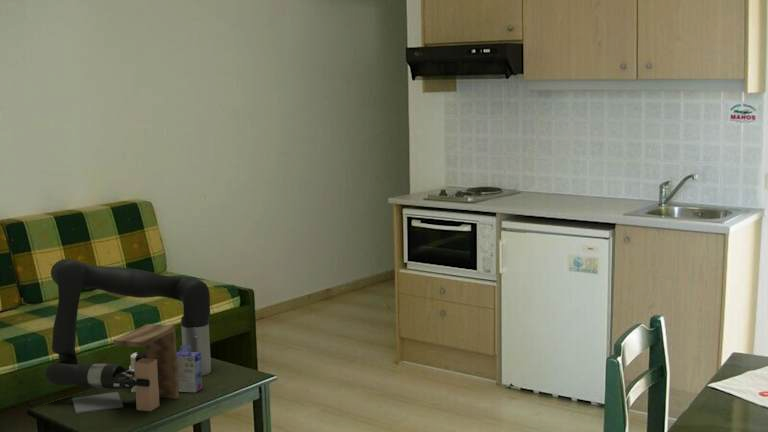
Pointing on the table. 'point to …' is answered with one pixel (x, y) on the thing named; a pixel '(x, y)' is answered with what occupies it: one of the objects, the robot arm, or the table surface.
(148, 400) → the terracotta carton
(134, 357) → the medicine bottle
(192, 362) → the ink cartridge box
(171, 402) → the table surface
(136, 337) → the walnut shelf
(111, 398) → the slate mat
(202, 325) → the robot arm
